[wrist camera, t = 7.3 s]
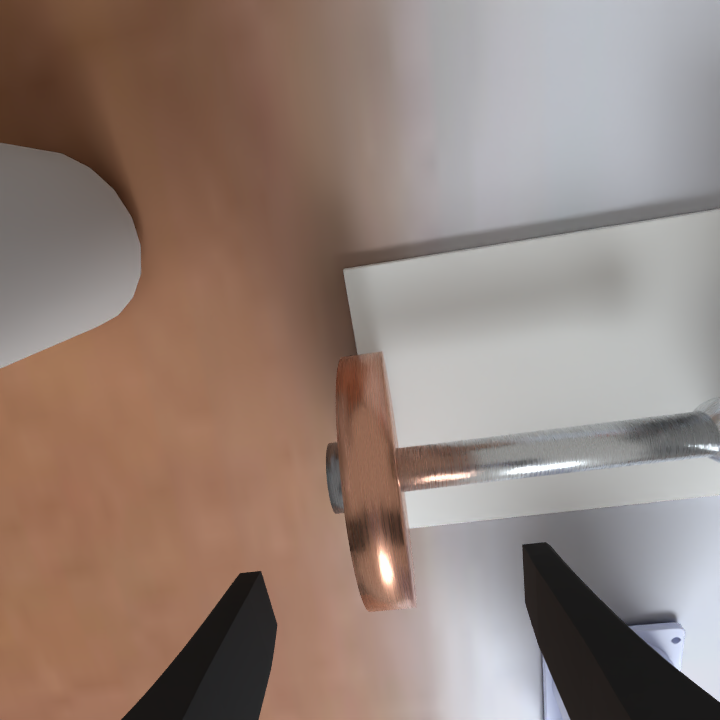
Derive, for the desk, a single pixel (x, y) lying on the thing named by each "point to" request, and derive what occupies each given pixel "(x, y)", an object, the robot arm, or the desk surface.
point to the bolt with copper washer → (465, 467)
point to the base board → (549, 354)
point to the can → (59, 251)
